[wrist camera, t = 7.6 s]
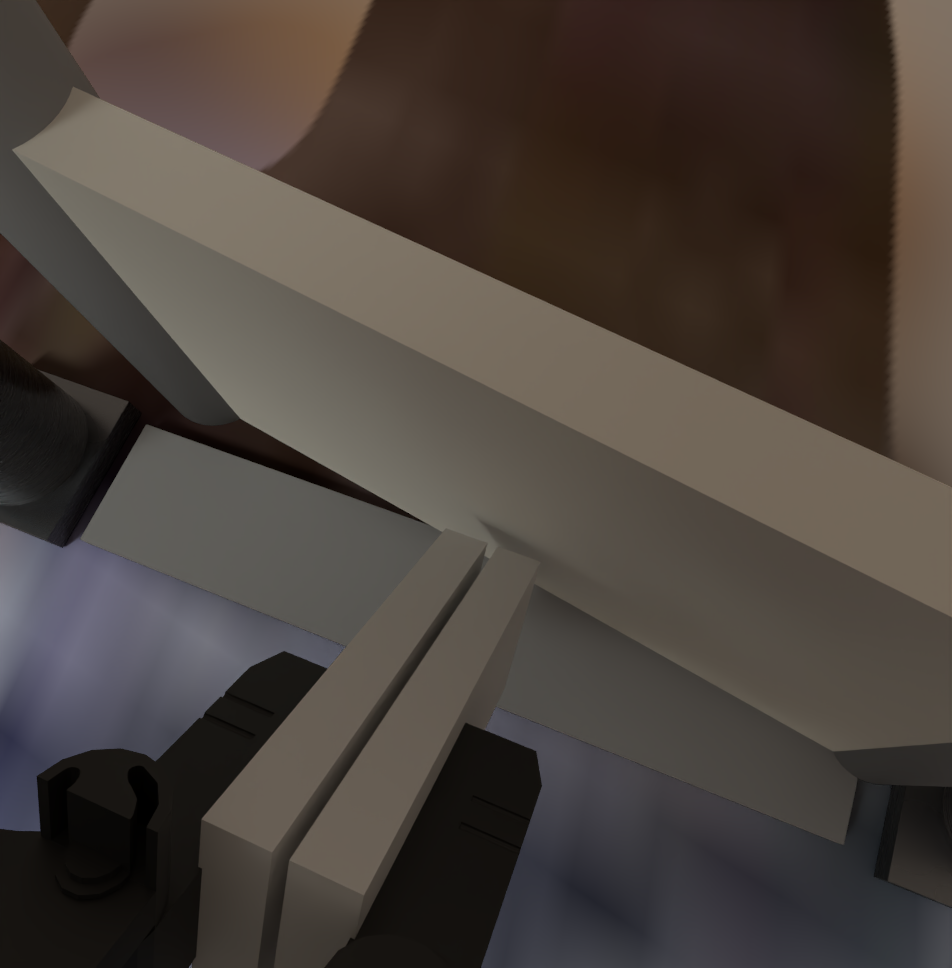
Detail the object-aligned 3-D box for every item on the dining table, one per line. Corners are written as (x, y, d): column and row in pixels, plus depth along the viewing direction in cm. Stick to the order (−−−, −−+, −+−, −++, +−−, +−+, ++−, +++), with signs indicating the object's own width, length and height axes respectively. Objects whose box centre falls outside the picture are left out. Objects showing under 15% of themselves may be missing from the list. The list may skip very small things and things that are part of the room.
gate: (941, 701, 14) (1730, 560, 5) (892, 824, 13) (1694, 937, 4) (212, 318, 18) (-129, -153, 9) (149, 396, 18) (-288, -23, 8)
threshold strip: (87, 542, 17) (79, 538, 17) (152, 429, 18) (146, 424, 18) (837, 843, 14) (843, 845, 14) (871, 686, 15) (877, 684, 15)
